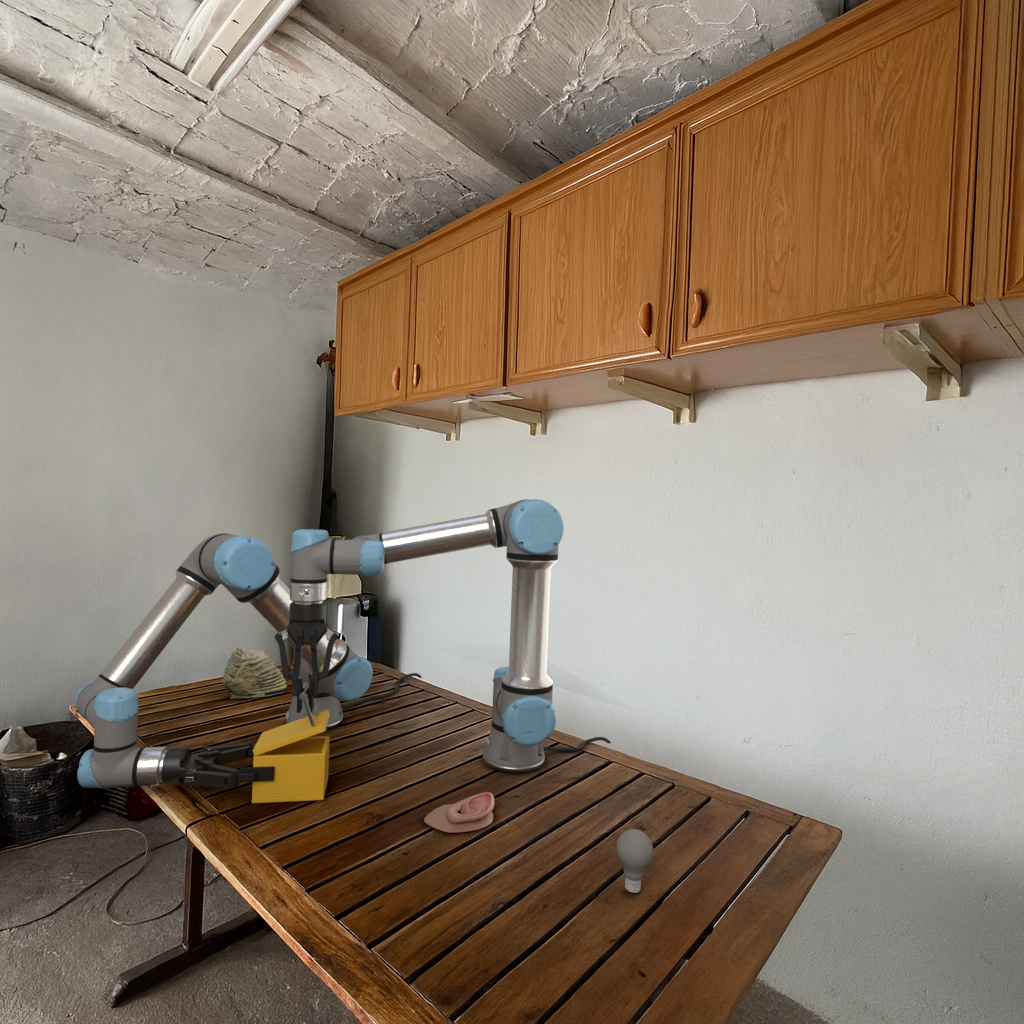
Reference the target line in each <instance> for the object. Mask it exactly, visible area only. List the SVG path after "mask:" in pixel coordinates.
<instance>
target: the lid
mask: <svg viewBox="0 0 1024 1024" xmlns="http://www.w3.org/2000/svg"><path fill="white" fill-rule="evenodd" d="M308 695H309V682H306V683H305V684H304V687H303V689H302V691H301V693H300V695H299V698H300V700H302V701H303V702H304V705H305V708H306V711H307V714H308V717H305V718H302V719H299V720H296V721H293V722H291V723H288V724H286V723H285V724H283V725H280V726H279V725H278V726H276V727H274V728H271V729H268V730H264V731H262V733H261V734H260V736H259V738H258V740H257V742H256V743H255V747H254V746H253V747H254V749H253V753H254V756H257V755H260V754H262V753H265V752H268V751H271V750H274V749H276V748H279V747H282V746H285V745H288V744H290V743H293V742H296V741H299V740H302V739H305V738H307V737H314V736H315V735H318V734H321V733H324V732H326V731H327V730H326V727H327V723H328V720H329V716H330V713H329V710H325V711H322V712H318V709H317V706H316V703H315V700H314V705H313V710H314V713H315V714H313V715H312V713H311V710H310V707H309V704H308V701H307V697H308Z"/></svg>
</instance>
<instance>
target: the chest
mask: <svg viewBox="0 0 1024 1024" xmlns="http://www.w3.org/2000/svg"><path fill="white" fill-rule="evenodd" d="M330 741H331V739H330V736H329V735H324V736H323V735H322V736H310V737H307V738H305V739H302V740H299V741H296V742H293V743H290V744H288V745H285V746H282V747H279V748H276V749H274V750H271V751H268V752H265V753H262V754H260V755H257V756H254V757H253V760H252V764H253V765H252V767H268V766H275V769H274V781H256V782H252V786H251V787H252V788H251V804H266V803H267V804H268V803H286V802H308V801H324V799H325V795H326V790H327V786H328V781H329V766H330V761H329V760H330Z"/></svg>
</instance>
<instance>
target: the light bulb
mask: <svg viewBox="0 0 1024 1024" xmlns="http://www.w3.org/2000/svg"><path fill="white" fill-rule="evenodd" d="M615 849H616V854H617V857H618V859H619V861H620V863H621V865H622V867H623V873H624V874H623V875H624V876H625V878H624V888H625V890H627V891H628V892H630V893H634V894H635V893H639V892H640V891H641V889H642V887H641V886H642V879H643V877H644V875H645V871H646V868H647V867H648V866H649V864H650V863H651V861H652V859H653V855H654V847H653V843H652V841H651V838H649V836H648V835H647V834H646V833H645V832H643V831H642V830H641V829H636V828H629V829H627V830H625V831H623V832H622V833H621V834H620V835H619V837H618V839H617V841H616V847H615Z"/></svg>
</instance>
